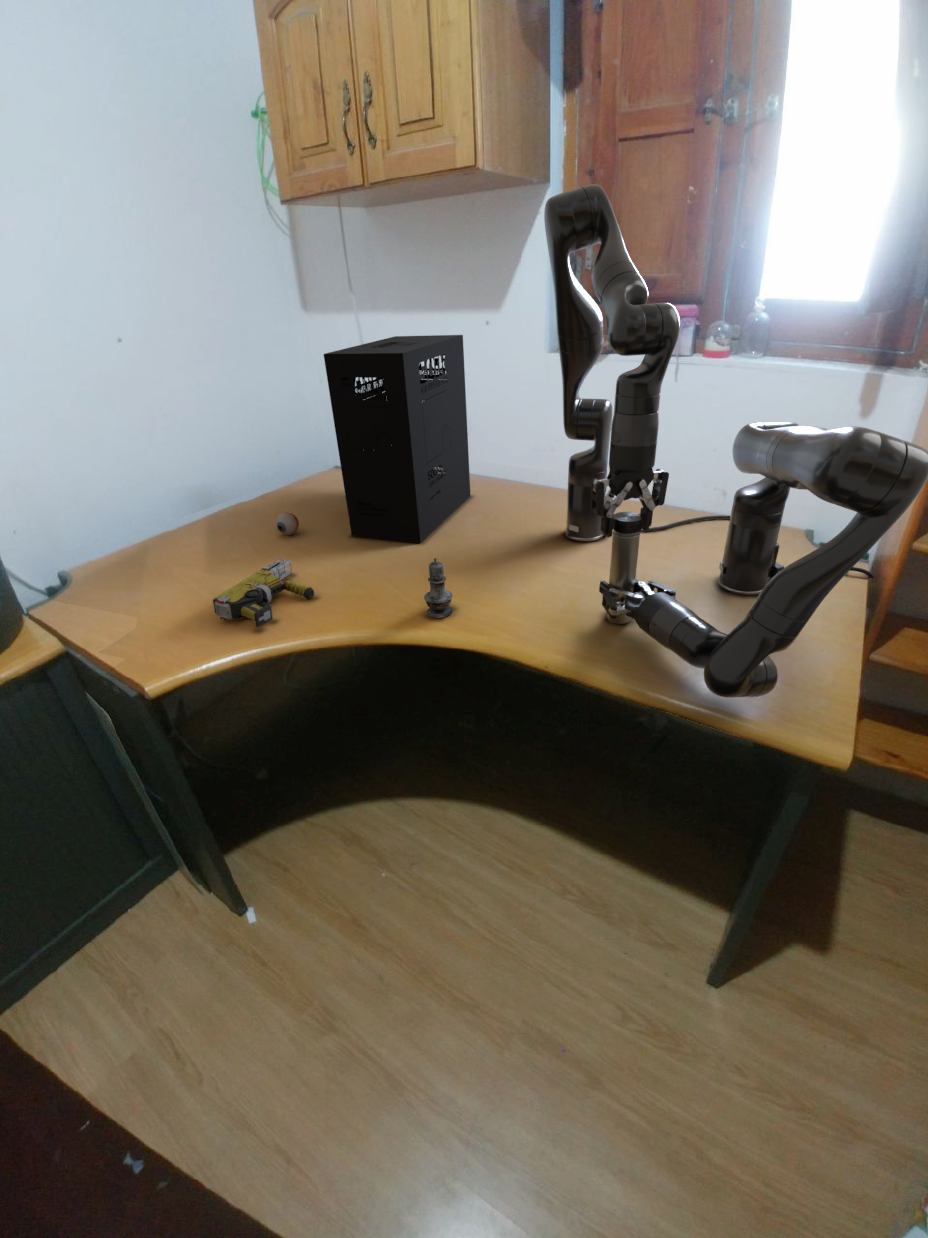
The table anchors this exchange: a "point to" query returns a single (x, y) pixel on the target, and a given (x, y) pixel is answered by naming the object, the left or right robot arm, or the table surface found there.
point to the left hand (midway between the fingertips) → (625, 531)
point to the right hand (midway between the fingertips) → (613, 582)
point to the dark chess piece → (438, 592)
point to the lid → (627, 522)
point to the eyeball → (287, 523)
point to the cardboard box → (401, 434)
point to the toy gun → (258, 594)
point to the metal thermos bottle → (623, 567)
